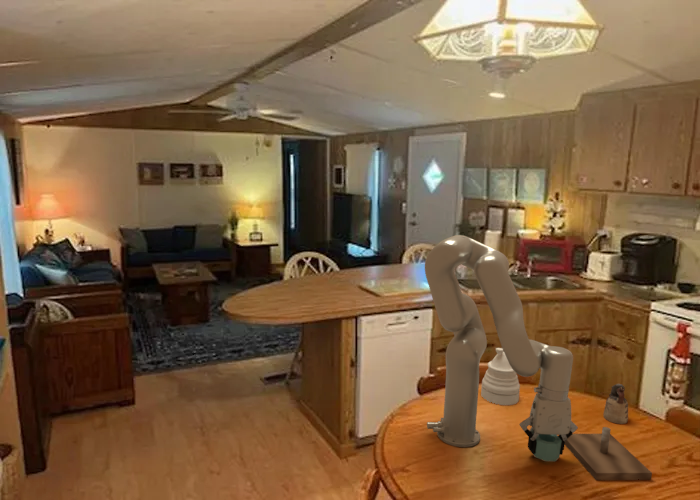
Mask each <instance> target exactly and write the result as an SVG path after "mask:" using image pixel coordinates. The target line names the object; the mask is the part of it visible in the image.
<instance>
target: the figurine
mask: <svg viewBox="0 0 700 500" xmlns="http://www.w3.org/2000/svg"><path fill="white" fill-rule="evenodd" d="M625 389H626V388H625V385H623V384H620V383H616V384H614V385H612V386H611V390H610V393H608V396H607V398H606V401H605V404H604V405H605V406H604V409H603V418H604V419H605V420H606V421H609V422H610V423H613V424H616V425H617V424H618V425H624V424H628V421H629V402H628V400H627V398H625Z"/></svg>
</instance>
